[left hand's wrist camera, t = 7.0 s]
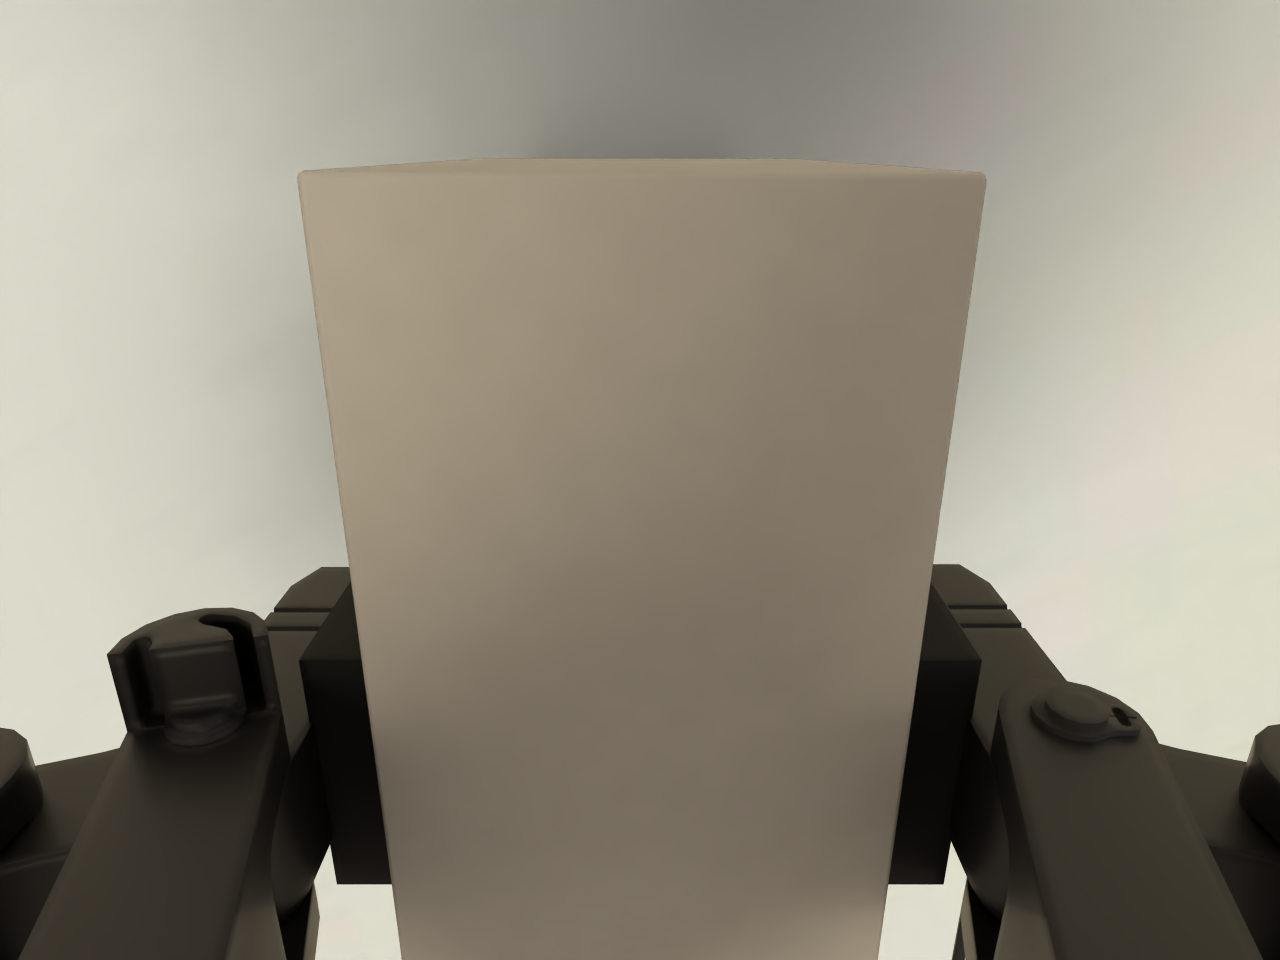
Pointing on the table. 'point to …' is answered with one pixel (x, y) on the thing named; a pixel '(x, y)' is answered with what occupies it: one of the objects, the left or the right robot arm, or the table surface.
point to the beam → (640, 536)
